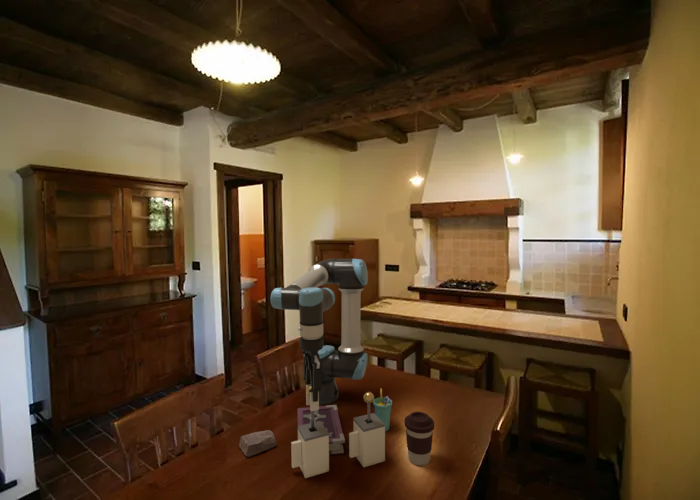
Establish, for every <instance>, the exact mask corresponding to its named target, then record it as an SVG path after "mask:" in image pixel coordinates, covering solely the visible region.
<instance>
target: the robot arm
mask: <svg viewBox="0 0 700 500" xmlns="http://www.w3.org/2000/svg"><path fill="white" fill-rule="evenodd" d="M368 273H369V272H368V267H367V264H366V262H365V260H364V259H361V258H359V259H358V258H328V259H325V260H321V261H319V262H317V263H315V264H313V265H312V266H311V267H309V268H308V270H307V272H306V273H304V274H303V275H302V276H300V277H299V278H298V279H296V280H294V281H293V282H292V283H290V284H289V285H288V286H286V287H276V288H274V289H273V290H272V291H271V294H270V298H269V299H270V304H271V307H272V308H273V309H277V310H286V311H287V310H288V311H290V310H291V311H299V327H298V328H297V329H298V331H299V337H300V338H299V348H300V350H301V351H302V352H301V353H302V358H303V359H302V360H303V362H302V363H303V365H302V366H303V380H304V384H305V402H306V403H305V404H306V406H309V407H310V411H315V410H319V407H320V405H322V406H323V405H328V404H329V405H330V404H332V403H334V402H336V401H337V400H338V399H339V395H340V393H339V388H338V386H337V382H336V378H339V379H347V380H348V379H349V380H362V379H363V378H364V377H365V373H366V369H367V366H368V358H369V357H368V353H366V352H365V351H364V350H365V349H364V347H363V346H362V345H361V305H362V304H361V299H362V298H361V297H362V295H361V294H362V293H361V292H362V291H363V290H365V286H367V285H368V281H369V274H368ZM327 284H329V285H337V286H338V287H337V288H338V290H339V291H340V292H341V343H340V344H341V345H340V346H339V347H337V350H336V348H335V346H333V345H330V344H329V345H327V344H326V345H324V336H323V335H324V312H326V311H328V310H330V309H331V307H333V305H334V304H335V301H336V295H335V292H334V291H333V290H332V289H330V288H328V287H323V286H324V285H327ZM321 286H322V287H321ZM320 287H321V288H320ZM310 385H311V390H309V393H310V396H309V395H308V394H307V388H308V386H310Z"/></svg>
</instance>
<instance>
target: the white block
mask: <svg viewBox="0 0 700 500" xmlns="http://www.w3.org/2000/svg"><path fill="white" fill-rule="evenodd" d="M352 423H353V424H352V426H353V429H352V430H353V431H351V432H348V443H349V445H348V449H349V451H348V452H349V453H348V456H349V458H350V459H352V458H356V459H357V460H358V462H359V463H360V465H361V466H362V467H363V468H367V467H369V466H373V465H376V464H379V463H383V462H386V431H385V424H384V423H383V422H382V421H381V420H380V419H379V418H378V417H377V416H376V415H375V412H373V413H370V423H368V424H367V414H364V415H360V416H355V417H353V422H352Z"/></svg>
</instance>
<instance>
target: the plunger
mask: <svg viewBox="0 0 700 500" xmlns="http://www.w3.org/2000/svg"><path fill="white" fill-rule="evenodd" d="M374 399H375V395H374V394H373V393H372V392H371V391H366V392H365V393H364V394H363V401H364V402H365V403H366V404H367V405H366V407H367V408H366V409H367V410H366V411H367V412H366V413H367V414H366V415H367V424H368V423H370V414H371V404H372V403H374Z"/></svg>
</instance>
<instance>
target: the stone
mask: <svg viewBox="0 0 700 500" xmlns="http://www.w3.org/2000/svg"><path fill="white" fill-rule="evenodd" d="M277 444H278V443H277V440H276V437H275V435H274V433H273V431H271V430H270V429H266V430H262V431H255V432H251V433H248V434H244V435H242V436H240V439H239V443H238V445H239V448H240V450H241V452H242V453H243V454H244V456H246V457H247V458H249V457H252V456H254V455H257V454H260V453H261V452H265V451H268V450H270V449H272V448H275V447H276V446H277Z"/></svg>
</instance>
